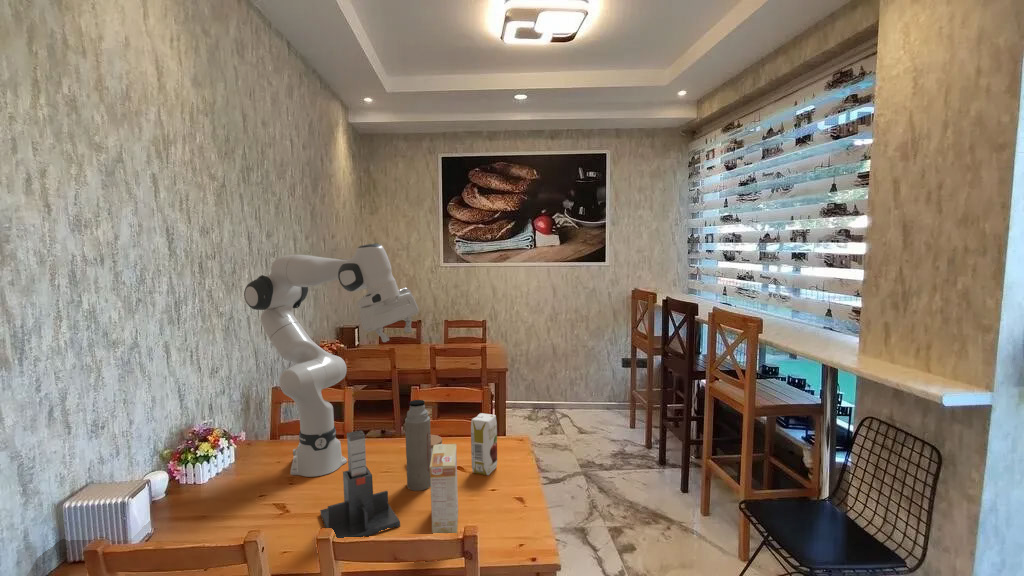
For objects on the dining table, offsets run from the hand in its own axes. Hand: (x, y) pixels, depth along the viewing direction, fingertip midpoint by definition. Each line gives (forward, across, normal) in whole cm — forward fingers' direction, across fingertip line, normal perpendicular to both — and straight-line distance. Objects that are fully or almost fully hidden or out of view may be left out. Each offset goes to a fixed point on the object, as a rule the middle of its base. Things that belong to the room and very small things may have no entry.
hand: (397, 336), depth 152 cm
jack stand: (+46, +26, -8) cm, 53 cm away
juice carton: (+55, -18, +1) cm, 58 cm away
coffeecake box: (+53, +13, +12) cm, 56 cm away
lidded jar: (+50, -12, -21) cm, 55 cm away
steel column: (+44, +26, -7) cm, 52 cm away
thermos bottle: (+50, +2, -10) cm, 51 cm away
